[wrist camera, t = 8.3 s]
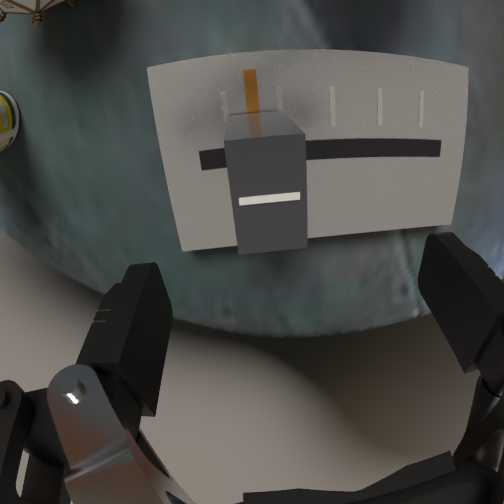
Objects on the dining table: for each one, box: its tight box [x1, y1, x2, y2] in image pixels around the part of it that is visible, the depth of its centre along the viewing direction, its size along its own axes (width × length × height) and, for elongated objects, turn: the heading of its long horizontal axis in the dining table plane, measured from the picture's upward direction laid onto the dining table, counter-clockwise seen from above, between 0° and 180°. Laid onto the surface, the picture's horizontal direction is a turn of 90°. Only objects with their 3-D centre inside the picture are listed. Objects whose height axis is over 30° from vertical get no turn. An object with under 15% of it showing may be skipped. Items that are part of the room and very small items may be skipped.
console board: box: [147, 49, 468, 251], centre depth 19 cm, size 20×12×2 cm, turn 95°
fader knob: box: [224, 111, 308, 255], centre depth 15 cm, size 3×5×6 cm, turn 5°
